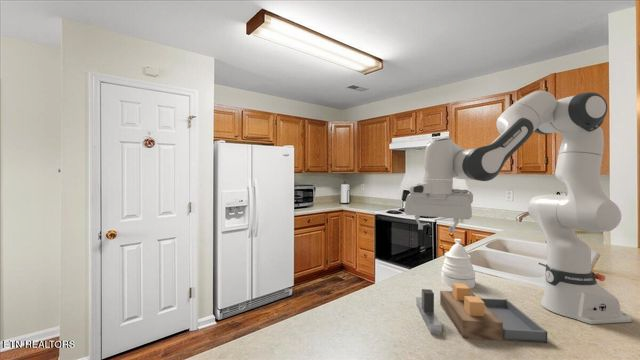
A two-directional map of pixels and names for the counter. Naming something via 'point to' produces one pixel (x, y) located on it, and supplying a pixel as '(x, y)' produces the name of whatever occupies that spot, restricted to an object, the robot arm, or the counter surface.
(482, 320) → the ledge
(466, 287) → the block
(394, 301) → the counter surface
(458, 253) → the honey pot
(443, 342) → the counter surface
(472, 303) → the block
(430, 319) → the grey stick with cube
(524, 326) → the tray
